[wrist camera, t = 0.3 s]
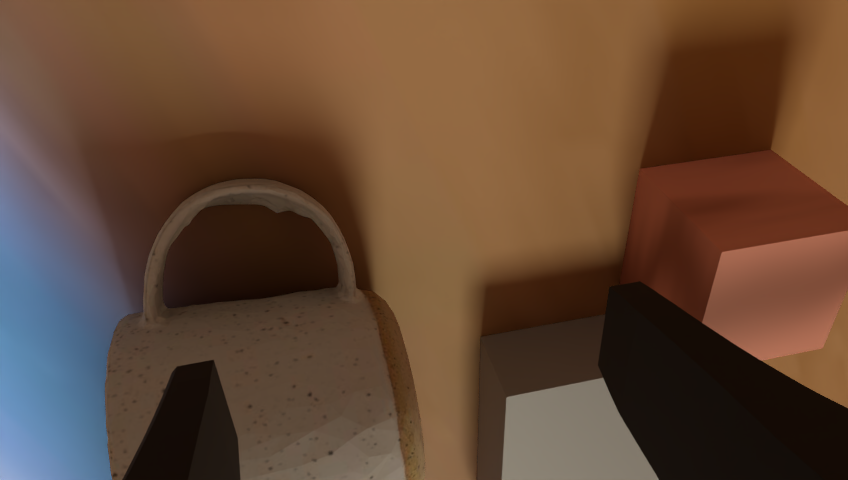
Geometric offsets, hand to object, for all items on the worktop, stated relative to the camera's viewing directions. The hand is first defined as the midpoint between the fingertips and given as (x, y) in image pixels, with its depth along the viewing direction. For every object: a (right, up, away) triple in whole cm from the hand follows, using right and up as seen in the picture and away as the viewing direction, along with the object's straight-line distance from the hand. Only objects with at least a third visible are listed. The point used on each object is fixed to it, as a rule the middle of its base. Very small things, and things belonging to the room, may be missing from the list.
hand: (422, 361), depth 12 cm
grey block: (+7, -5, +18) cm, 20 cm away
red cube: (+10, +3, +13) cm, 16 cm away
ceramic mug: (-6, 0, +11) cm, 12 cm away
